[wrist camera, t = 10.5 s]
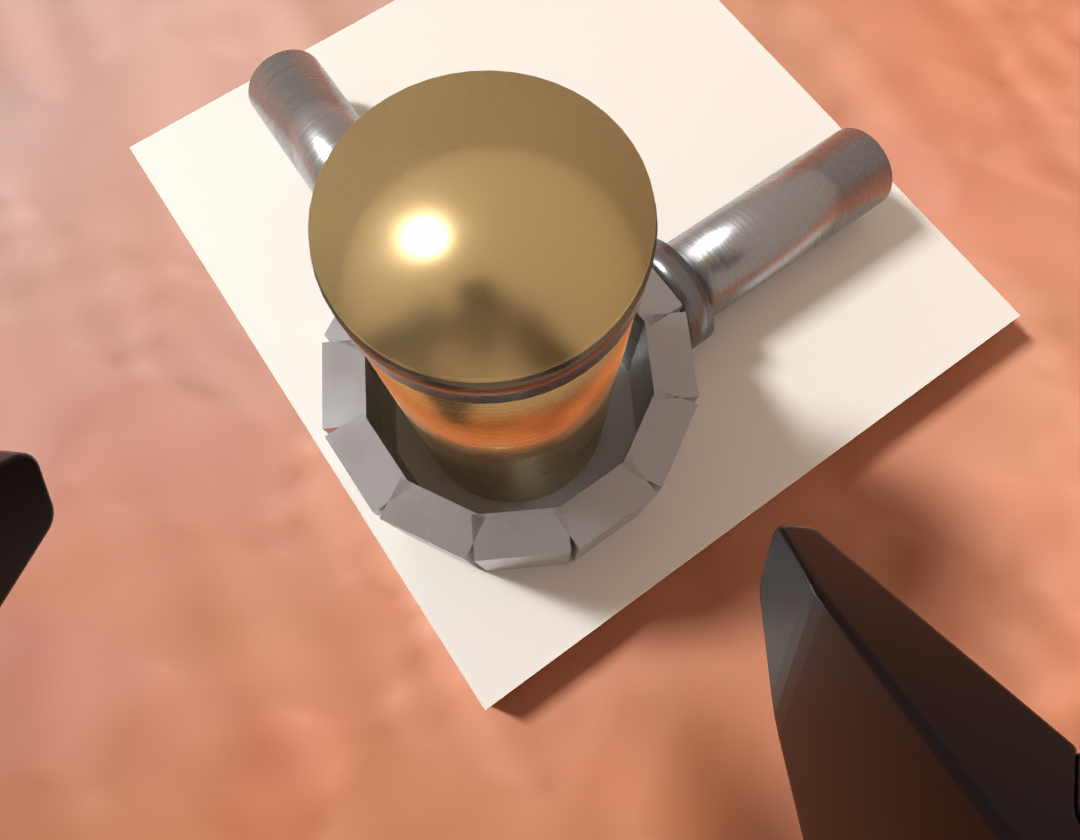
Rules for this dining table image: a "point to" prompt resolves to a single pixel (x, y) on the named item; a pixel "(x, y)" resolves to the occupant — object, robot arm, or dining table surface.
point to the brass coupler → (489, 268)
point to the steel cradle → (651, 351)
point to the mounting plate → (720, 362)
